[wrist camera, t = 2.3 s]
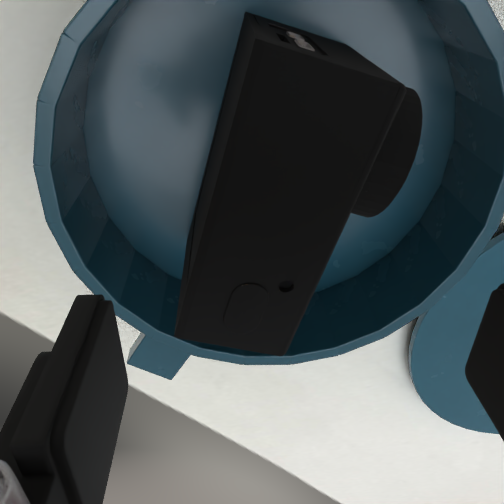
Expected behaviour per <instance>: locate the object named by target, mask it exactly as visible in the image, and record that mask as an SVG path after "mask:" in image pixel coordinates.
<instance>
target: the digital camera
mask: <svg viewBox="0 0 504 504" xmlns="http://www.w3.org/2000/svg"><path fill="white" fill-rule="evenodd" d="M422 119H423V113H422V105H421V100H420V97H419V96H418V94H417V92H416V91H415V90H413V89H411V88H408V87H405V85H404V84H402V83H401V82H399V81H398V80H396V79H395V78H394V77H392V76H391V75H389V74H388V73H386V72H385V71H384V70H382V69H381V68H379V67H378V66H377V65H375V64H374V63H372V62H371V61H369V60H368V59H367V58H365V57H364V56H362V55H361V54H359V53H358V52H357V51H355V50H354V49H352V48H351V47H349V46H348V45H346V44H343V43H340V42H337V41H334V40H331V39H328V38H325V37H322V36H319V35H316V34H313V33H310V32H307V31H304V30H301V29H298V28H295V27H291V26H288V25H285V24H282V23H279V22H276V21H273V20H270V19H267V18H264V17H261V16H258V15H255V14H251V13H248V12H245V14H244V18H243V22H242V26H241V30H240V34H239V38H238V42H237V46H236V50H235V54H234V57H233V61H232V65H231V69H230V73H229V77H228V81H227V85H226V89H225V93H224V97H223V101H222V105H221V108H220V112H219V116H218V120H217V124H216V128H215V132H214V136H213V140H212V144H211V148H210V152H209V156H208V160H207V163H206V167H205V171H204V175H203V179H202V183H201V187H200V191H199V195H198V199H197V203H196V207H195V211H194V214H193V218H192V222H191V226H190V230H189V234H188V238H187V244H186V251H185V259H184V266H183V273H182V281H181V288H180V295H179V303H178V310H177V317H176V325H175V332H174V337H177V338H179V339H185V340H191V341H197V342H202V343H208V344H213V345H219V346H225V347H230V348H236V349H242V350H247V351H253V352H259V353H264V354H270V355H275V356H283V355H285V354H286V352H287V350H288V348H289V346H290V344H291V342H292V339H293V337H294V335H295V333H296V331H297V329H298V326H299V324H300V322H301V320H302V318H303V316H304V313H305V311H306V309H307V307H308V305H309V303H310V300H311V298H312V296H313V294H314V292H315V289H316V287H317V285H318V283H319V281H320V279H321V276H322V274H323V272H324V270H325V268H326V266H327V263H328V261H329V259H330V257H331V255H332V253H333V250H334V248H335V246H336V244H337V242H338V240H339V237H340V235H341V233H342V231H343V229H344V227H345V224H346V222H347V220H348V218H349V216H350V214H351V213H353V214H356V215H360V216H364V217H367V218H368V217H374V216H376V215H378V214H380V213H381V212H383V211H384V210H385V209H386V208H387V207H388V206H389V205H390V204H391V202H392V201H393V200H394V199H395V197H396V196H397V194H398V193H399V191H400V190H401V188H402V186H403V184H404V183H405V181H406V179H407V177H408V174H409V172H410V170H411V167H412V165H413V162H414V160H415V157H416V153H417V150H418V146H419V142H420V137H421V130H422Z"/></svg>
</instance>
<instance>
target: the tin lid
mask: <svg viewBox="0 0 504 504" xmlns="http://www.w3.org/2000/svg"><path fill="white" fill-rule="evenodd" d="M503 283H504V232H503V233H501V234H499V235H498V236H496V237H494V238H493V239H491V240H490V241H489V242H488V244H487V245H486V247H485V248H484V250H483V251H482V253H481V254H480V256H479V257H478V258H477V260H476V261H475V263H474V264H473V266H472V267H471V269H470V270H469V271H468V273H467V274H466V275H465V276H464V277H463V278H462V279H461V280H460V281H459V282H458V283H457V284H456V285H455V286H454V287H453V288H452V289H451V290H450V291H448V292H447V293H446V294H445V295H444V296H443V297H442V298H441V299H440V300H439V301H438V302H437V303H436V304H435V305H434V306H433V307H432V308H430V309H429V310H427V311H426V312H425V313H423V314H422V315H420V316H419V317H418V320H417V322H416V325H415V327H414V330H413V332H412V337H411V341H410V345H409V357H408V363H409V370H410V376H411V378H412V381H413V384H414V387H415V389H416V391H417V393H418V394H419V396H420V397H421V399H422V401H423V402H424V403H425V404H426V405H427V406H428V407H429V408H430V409H431V410H432V411H433V412H434V413H436V414H437V415H438V416H440V417H441V418H443V419H445V420H446V421H448V422H450V423H452V424H454V425H457V426H460V427H463V428H466V429H470V430H474V431H478V432H485V433H493V434H499V432H498V431H497V429H496V428H495V426H494V424H493V423H492V421H491V419H490V418H489V416H488V414H487V413H486V411H485V409H484V408H483V406H482V404H481V403H480V401H479V399H478V398H477V396H476V394H475V393H474V391H473V389H472V388H471V386H470V384H469V383H468V381H467V379H466V375H465V366H466V363H467V360H468V357H469V354H470V352H471V349H472V346H473V343H474V340H475V337H476V335H477V332H478V329H479V326H480V323H481V321H482V318H483V315H484V312H485V309H486V306H487V304H488V301H489V298H490V295H491V293H492V291H493V290H495V289H497V288H498V286H500V285H501V284H503Z"/></svg>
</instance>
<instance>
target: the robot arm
mask: <svg viewBox="0 0 504 504" xmlns="http://www.w3.org/2000/svg"><path fill="white" fill-rule="evenodd" d="M465 375H466V379H467V381H468V383H469V384H470V386H471V388H472V389H473V391H474V393H475V394H476V396H477V398H478V399H479V401H480V403H481V404H482V406H483V408H484V409H485V411H486V413H487V414H488V416H489V418H490V419H491V421H492V423H493V424H494V426H495V428H496V429H497V431H498V432H499V434H500V436H501V437H502V439H503V441H504V283H503V284H501V285H500V286H498V288H497V289H495V290H493V291H492V293H491V295H490V298H489V301H488V304H487V306H486V309H485V312H484V315H483V318H482V321H481V323H480V326H479V329H478V332H477V335H476V337H475V340H474V343H473V346H472V349H471V352H470V354H469V357H468V360H467V363H466V366H465ZM127 392H128V378H127V373H126V368H125V363H124V358H123V353H122V347H121V342H120V337H119V332H118V327H117V322H116V317H115V312H114V306H113V302H112V301H111V300H105V298H104V296H103V295H102V294H100V295H78V296H77V297H76V298H75V300H74V302H73V305H72V307H71V309H70V311H69V314H68V316H67V318H66V320H65V322H64V325H63V327H62V329H61V331H60V333H59V336H58V338H57V340H56V342H55V345H54V347H53V349H52V351H51V352H41V353H40V354H39V355H38V356H37V358H36V359H35V361H34V363H33V365H32V367H31V370H30V372H29V374H28V376H27V378H26V380H25V382H24V384H23V386H22V389H21V390H20V392H19V394H18V397H17V399H16V401H15V403H14V405H13V407H12V409H11V411H10V413H9V415H8V417H7V419H6V421H5V423H4V425H3V428H2V430H1V432H0V504H102V503H103V499H104V494H105V490H106V486H107V481H108V476H109V472H110V468H111V464H112V459H113V455H114V450H115V446H116V441H117V437H118V432H119V428H120V423H121V419H122V415H123V410H124V406H125V402H126V397H127Z"/></svg>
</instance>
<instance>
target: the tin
mask: <svg viewBox="0 0 504 504" xmlns="http://www.w3.org/2000/svg"><path fill="white" fill-rule="evenodd" d="M245 12H248V13H251V14H255V15H258V16H261V17H264V18H267V19H270V20H273V21H276V22H279V23H282V24H285V25H288V26H291V27H295V28H298V29H301V30H304V31H307V32H310V33H313V34H316V35H319V36H322V37H325V38H328V39H331V40H334V41H337V42H340V43H343V44H346V45H348V46H349V47H351V48H352V49H354V50H355V51H357V52H358V53H359V54H361V55H362V56H364V57H365V58H367V59H368V60H369V61H371V62H372V63H374V64H375V65H377V66H378V67H379V68H381V69H382V70H384V71H385V72H386V73H388V74H389V75H391V76H392V77H394V78H395V79H396V80H398V81H399V82H401V83H402V84H404V85H405V87H408V88H411V89H413V90H415V91H416V92H417V94H418V96H419V97H420V100H421V105H422V113H423V119H422V130H421V137H420V142H419V146H418V150H417V153H416V157H415V160H414V162H413V165H412V167H411V170H410V172H409V174H408V177H407V179H406V181H405V183H404V184H403V186H402V188H401V190H400V191H399V193H398V194H397V196H396V197H395V199H394V200H393V201H392V202H391V204H390V205H389V206H388V207H387V208H386V209H385V210H384V211H383V212H381V213H380V214H378V215H376V216H374V217H368V218H367V217H364V216H360V215H356V214H353V213H351V214H350V216H349V218H348V220H347V222H346V224H345V227H344V229H343V231H342V233H341V235H340V237H339V240H338V242H337V244H336V246H335V248H334V250H333V253H332V255H331V257H330V259H329V261H328V263H327V266H326V268H325V270H324V272H323V274H322V276H321V279H320V281H319V283H318V285H317V287H316V289H315V292H314V294H313V296H312V298H311V300H310V303H309V305H308V307H307V309H306V311H305V313H304V316H303V318H302V320H301V322H300V324H299V326H298V329H297V331H296V333H295V335H294V337H293V339H292V342H291V344H290V346H289V348H288V350H287V352H286V354H285V355H283V356H275V355H270V354H264V353H259V352H253V351H247V350H242V349H236V348H230V347H225V346H219V345H213V344H208V343H202V342H197V341H191V340H185V339H179V338H177V337H174V332H175V325H176V317H177V310H178V303H179V295H180V288H181V281H182V273H183V266H184V259H185V251H186V244H187V238H188V234H189V230H190V226H191V222H192V218H193V214H194V211H195V207H196V203H197V199H198V195H199V191H200V187H201V183H202V179H203V175H204V171H205V167H206V163H207V160H208V156H209V152H210V148H211V144H212V140H213V136H214V132H215V128H216V124H217V120H218V116H219V112H220V108H221V105H222V101H223V97H224V93H225V89H226V85H227V81H228V77H229V73H230V69H231V65H232V61H233V57H234V54H235V50H236V46H237V42H238V38H239V34H240V30H241V26H242V22H243V18H244V14H245ZM33 164H34V165H33V167H34V172H35V176H36V180H37V184H38V189H39V193H40V197H41V202H42V206H43V210H44V215H45V219H46V222H47V225H48V226H49V228H50V230H51V232H52V234H53V236H54V237H55V239H56V241H57V243H58V245H59V247H60V249H61V250H62V252H63V254H64V256H65V258H66V260H67V261H68V263H69V265H70V267H71V269H72V270H73V271H74V273H75V274H76V275H77V276H78V278H79V279H80V280H81V281H82V282H83V283H84V284H85V285H86V286H87V287H88V288H89V289H90V290H91V291H92V293H93V294H94V295H100V294H102V295H103V296H104V298H105V300H111V301H112V302H113V306H114V312H115V315H116V316H118V317H119V318H121V319H122V320H124V321H125V322H127V323H128V324H130V325H131V326H133V327H134V328H136V329H137V330H139V331H140V332H141V333H140V335H139V336H138V338H137V339H136V341H135V342H134V344H133V346H132V347H131V349H130V352H129V356H128V360H127V364H129V365H132V366H135V367H137V368H140V369H143V370H145V371H148V372H151V373H153V374H156V375H159V376H161V377H164V378H167V379H169V380H172V378H173V377H174V376H175V375H176V373H177V372H178V371H179V369H180V368H181V367H182V365H183V364H184V363H185V361H186V360H187V359H188V358H189V356H190V355H193V356H197V357H203V358H208V359H214V360H219V361H224V362H230V363H235V364H241V365H243V364H244V365H290V364H297V363H303V362H308V361H313V360H318V359H323V358H328V357H334V356H338V355H342V354H344V353H347V352H349V351H352V350H354V349H357V348H359V347H362V346H365V345H367V344H370V343H372V342H375V341H377V340H380V339H382V338H384V336H385V337H387V336H388V335H390V334H391V333H393V332H395V331H396V330H398V329H399V328H401V327H402V326H404V325H406V324H407V323H409V322H410V321H412V320H414V319H415V318H417V317H418V316H420V315H422V314H423V313H425V312H426V311H427V310H429V309H430V308H432V307H433V306H434V305H435V304H436V303H437V302H438V301H439V300H440V299H441V298H442V297H443V296H444V295H445V294H446V293H447V292H448V291H450V290H451V289H452V288H453V287H454V286H455V285H456V284H457V283H458V282H459V281H460V280H461V279H462V278H463V277H464V276H465V275H466V274H467V273H468V271H469V270H470V269H471V267H472V266H473V264H474V263H475V261H476V260H477V258H478V257H479V256H480V254H481V253H482V251H483V250H484V248H485V247H486V245H487V244H488V242H489V241H490V240H491V238H492V237H493V235H494V234H495V232H496V231H497V228H498V227H499V225H500V222H501V219H502V217H503V214H504V31H503V29H502V27H501V25H500V23H499V21H498V19H497V18H496V16H495V14H494V12H493V10H492V8H491V7H490V5H489V3H488V1H487V0H87V1H86V2H85V4H84V5H83V6H82V7H81V9H80V10H79V11H78V12H77V14H76V15H75V16H74V17H73V19H72V20H71V21H70V23H69V24H68V25H67V26H66V28H65V29H64V31H63V33H62V34H61V36H60V39H59V42H58V44H57V47H56V50H55V52H54V55H53V57H52V60H51V63H50V65H49V68H48V71H47V73H46V76H45V79H44V81H43V84H42V87H41V89H40V92H39V95H38V100H37V105H36V122H35V139H34V155H33Z"/></svg>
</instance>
